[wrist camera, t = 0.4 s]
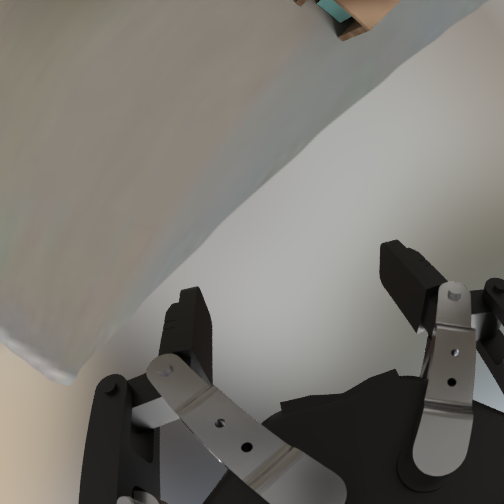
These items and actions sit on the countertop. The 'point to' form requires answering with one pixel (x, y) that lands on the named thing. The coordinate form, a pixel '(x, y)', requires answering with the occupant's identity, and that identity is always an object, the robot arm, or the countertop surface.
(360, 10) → the brown forked piece
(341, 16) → the block
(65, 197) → the countertop surface
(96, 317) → the countertop surface
